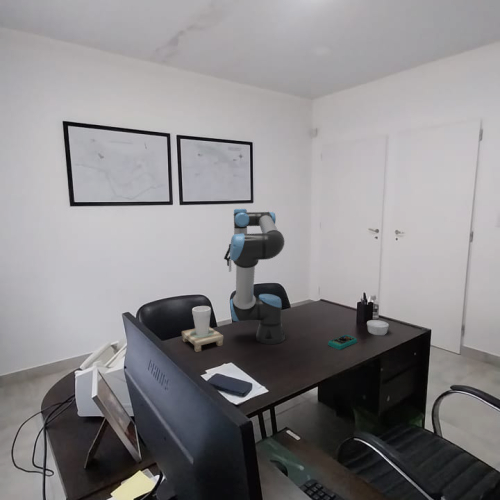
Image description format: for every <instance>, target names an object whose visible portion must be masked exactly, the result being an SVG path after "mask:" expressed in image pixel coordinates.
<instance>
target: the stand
mask: <svg viewBox="0 0 500 500" xmlns="http://www.w3.org/2000/svg"><path fill="white" fill-rule="evenodd" d="M181 336H182V341H183V342H184V343H186V342H190V343H191V344H192V345H193V346H194V351H195V352H196V353H199V352H202V346H203V345H207V344H211V343H216V344H215V345H216V346H218V347H221V346H223V345H224V343H223V340H224V335H223V334H221V333H220V332H219V331H216V330H215V329H214V328H212V327H211V326H209V333H208V334H207V335H197V334H196V329H195V328H192V329H186V330H182V331H181Z"/></svg>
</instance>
